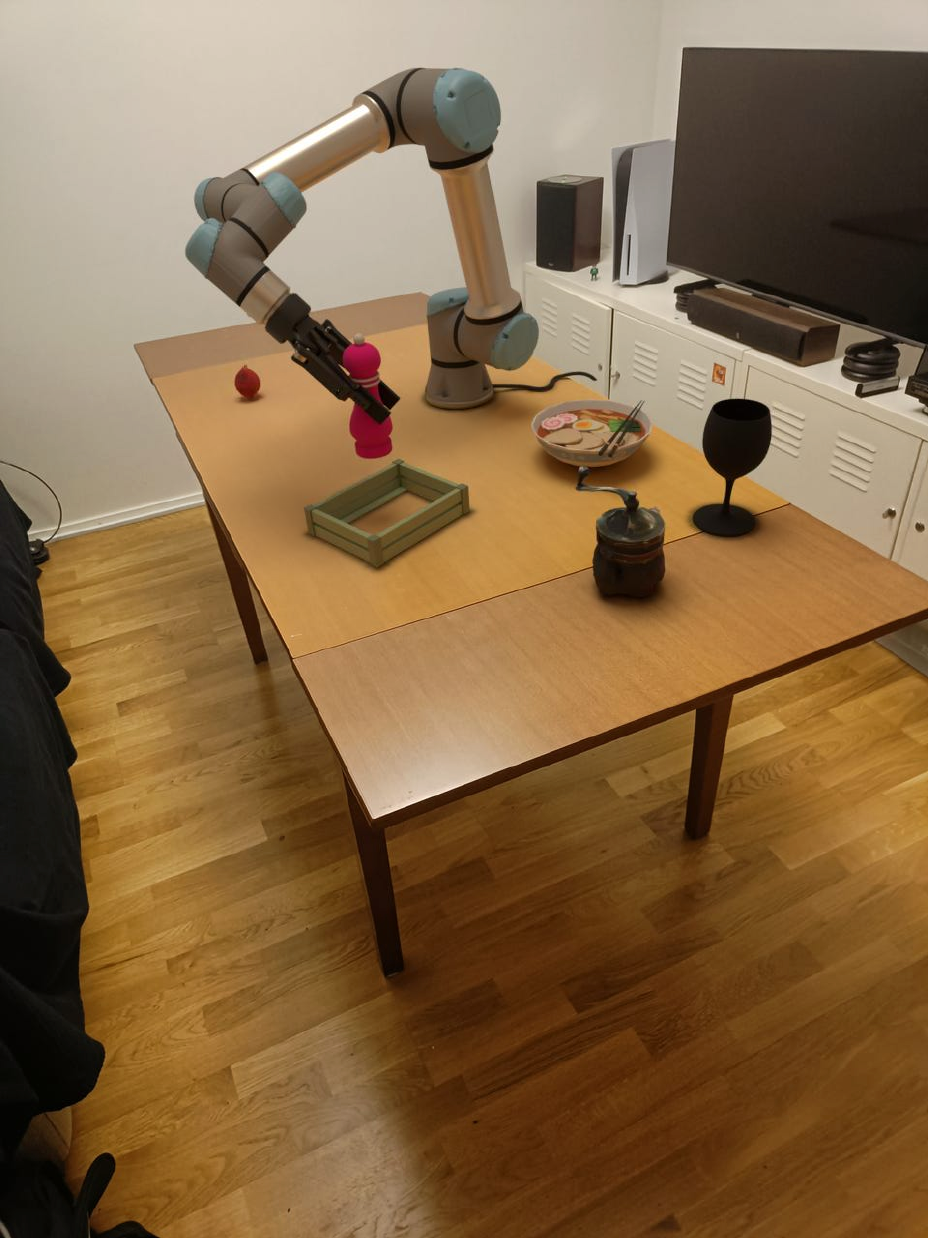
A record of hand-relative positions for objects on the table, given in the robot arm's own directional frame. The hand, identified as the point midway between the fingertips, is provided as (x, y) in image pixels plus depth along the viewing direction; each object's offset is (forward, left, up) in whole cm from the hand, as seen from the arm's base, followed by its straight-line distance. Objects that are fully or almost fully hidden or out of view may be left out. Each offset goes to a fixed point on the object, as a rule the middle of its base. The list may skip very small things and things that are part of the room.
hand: (390, 411), depth 138 cm
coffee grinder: (-25, +33, -20) cm, 46 cm away
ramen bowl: (-39, -7, -20) cm, 45 cm away
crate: (+3, +1, -20) cm, 20 cm away
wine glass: (-50, +23, -20) cm, 59 cm away
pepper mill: (+3, -2, -7) cm, 8 cm away
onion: (+20, -67, -20) cm, 72 cm away
